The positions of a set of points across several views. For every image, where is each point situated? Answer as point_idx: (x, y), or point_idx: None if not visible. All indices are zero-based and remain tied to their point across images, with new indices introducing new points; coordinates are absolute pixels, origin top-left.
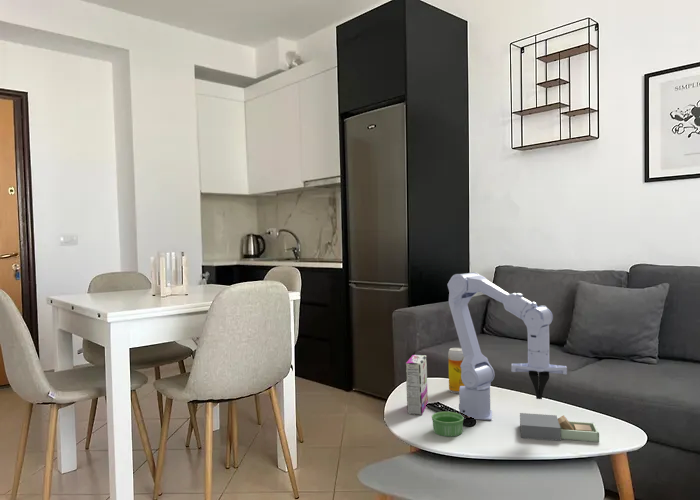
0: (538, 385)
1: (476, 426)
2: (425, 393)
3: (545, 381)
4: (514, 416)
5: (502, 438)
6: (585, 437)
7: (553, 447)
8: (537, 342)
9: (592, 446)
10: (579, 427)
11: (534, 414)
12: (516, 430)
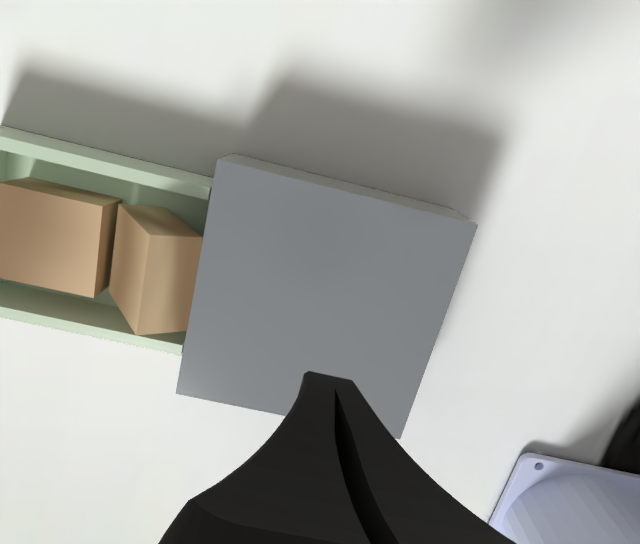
0: (360, 462)
1: (635, 379)
2: None
3: (254, 483)
4: None
5: (566, 203)
6: (70, 145)
7: (311, 46)
8: None
9: (59, 54)
10: (71, 239)
11: None
12: None
